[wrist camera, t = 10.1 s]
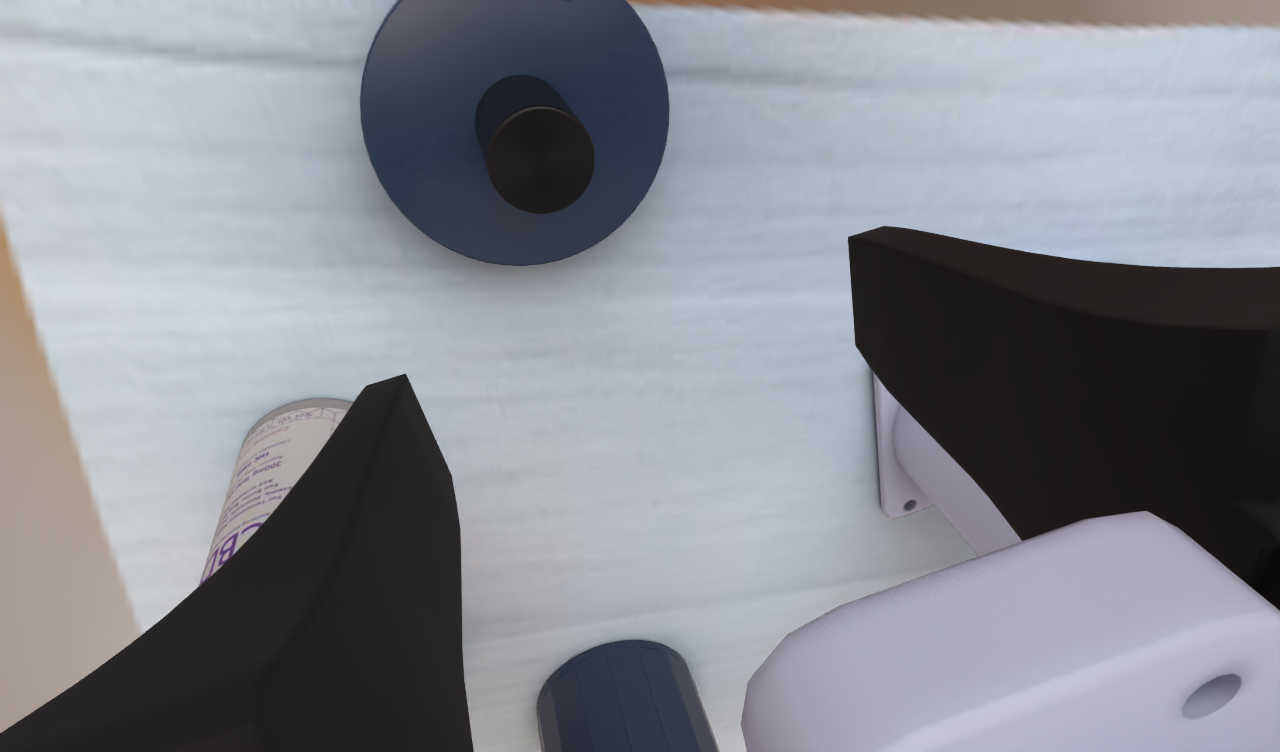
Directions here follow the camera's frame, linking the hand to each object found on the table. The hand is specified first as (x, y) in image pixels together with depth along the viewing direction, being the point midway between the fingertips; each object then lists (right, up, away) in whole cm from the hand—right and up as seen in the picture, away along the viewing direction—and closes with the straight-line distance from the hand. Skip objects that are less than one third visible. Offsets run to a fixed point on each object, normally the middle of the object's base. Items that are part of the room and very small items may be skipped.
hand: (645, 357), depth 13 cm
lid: (-3, +6, +7) cm, 9 cm away
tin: (-1, -13, +20) cm, 24 cm away
